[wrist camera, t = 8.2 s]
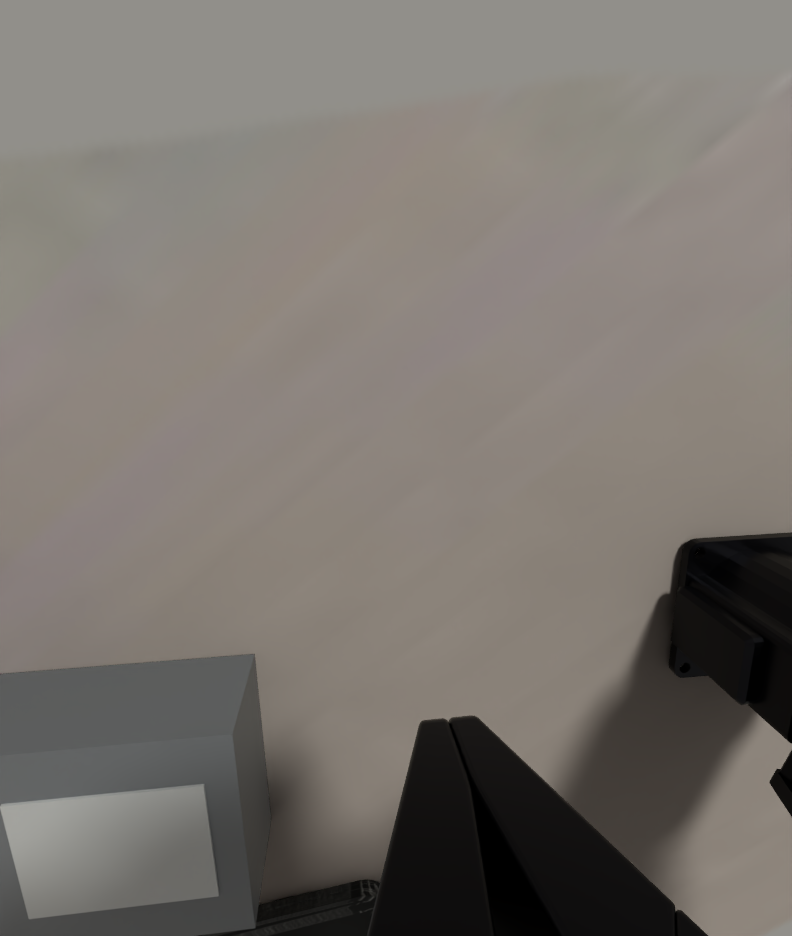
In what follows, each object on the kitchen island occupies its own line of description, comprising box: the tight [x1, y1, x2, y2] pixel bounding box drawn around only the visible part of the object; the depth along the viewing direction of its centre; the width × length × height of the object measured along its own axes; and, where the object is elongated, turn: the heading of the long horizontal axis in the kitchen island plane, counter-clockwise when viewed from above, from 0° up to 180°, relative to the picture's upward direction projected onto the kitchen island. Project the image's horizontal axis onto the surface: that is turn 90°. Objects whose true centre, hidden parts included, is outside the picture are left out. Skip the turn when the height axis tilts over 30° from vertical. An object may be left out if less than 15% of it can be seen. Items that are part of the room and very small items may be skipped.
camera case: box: [0, 654, 271, 936], centre depth 20 cm, size 11×9×5 cm
